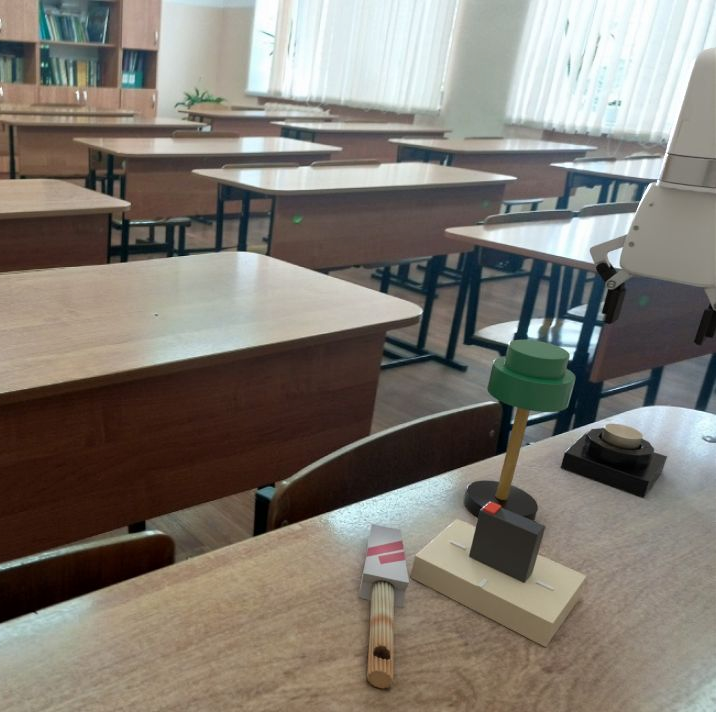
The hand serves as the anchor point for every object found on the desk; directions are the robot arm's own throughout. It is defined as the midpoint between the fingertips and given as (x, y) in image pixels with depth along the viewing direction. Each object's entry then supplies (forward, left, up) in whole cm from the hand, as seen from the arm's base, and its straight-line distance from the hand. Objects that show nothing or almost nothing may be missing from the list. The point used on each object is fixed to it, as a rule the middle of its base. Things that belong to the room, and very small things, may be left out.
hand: (654, 331), depth 83 cm
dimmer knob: (+1, +34, -15) cm, 37 cm away
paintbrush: (+7, +44, -18) cm, 48 cm away
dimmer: (+1, +34, -18) cm, 38 cm away
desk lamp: (+6, +20, -18) cm, 28 cm away
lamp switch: (0, 0, -18) cm, 18 cm away
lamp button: (0, 0, -14) cm, 14 cm away
